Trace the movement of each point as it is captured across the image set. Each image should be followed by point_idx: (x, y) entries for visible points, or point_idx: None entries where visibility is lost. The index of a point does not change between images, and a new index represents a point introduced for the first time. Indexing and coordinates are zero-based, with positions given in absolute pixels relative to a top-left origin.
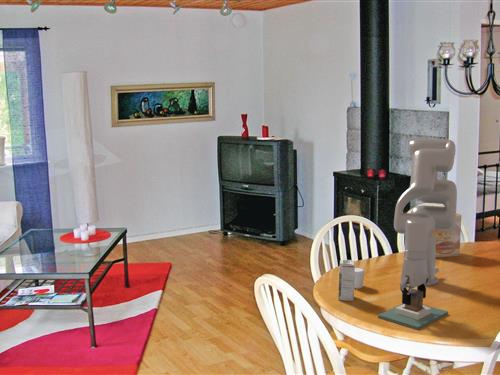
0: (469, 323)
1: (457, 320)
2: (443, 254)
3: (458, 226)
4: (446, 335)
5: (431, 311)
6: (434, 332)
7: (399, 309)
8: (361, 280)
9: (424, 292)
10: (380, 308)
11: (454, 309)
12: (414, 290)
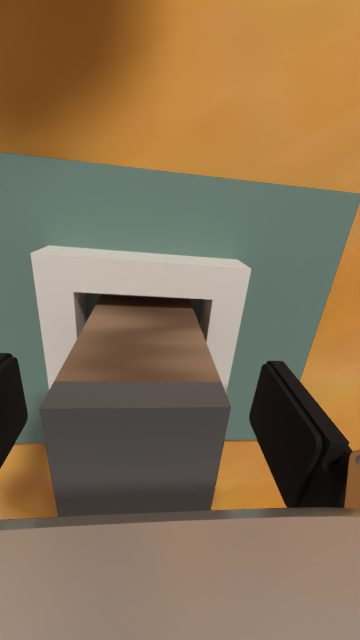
0: (220, 508)
1: (223, 476)
2: None
3: None
4: (43, 514)
5: (235, 391)
6: (29, 480)
7: (37, 291)
8: None
9: (268, 464)
10: (106, 32)
11: (348, 420)
12: (176, 457)
